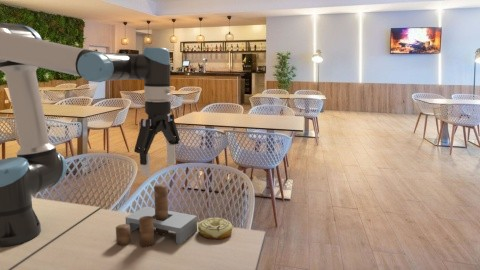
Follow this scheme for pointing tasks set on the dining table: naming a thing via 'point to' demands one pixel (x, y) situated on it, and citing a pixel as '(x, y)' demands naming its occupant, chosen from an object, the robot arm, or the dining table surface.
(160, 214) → the long dowel
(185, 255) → the dining table surface
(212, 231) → the decorated donut
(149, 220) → the medium dowel
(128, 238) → the short dowel
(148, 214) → the bridge
